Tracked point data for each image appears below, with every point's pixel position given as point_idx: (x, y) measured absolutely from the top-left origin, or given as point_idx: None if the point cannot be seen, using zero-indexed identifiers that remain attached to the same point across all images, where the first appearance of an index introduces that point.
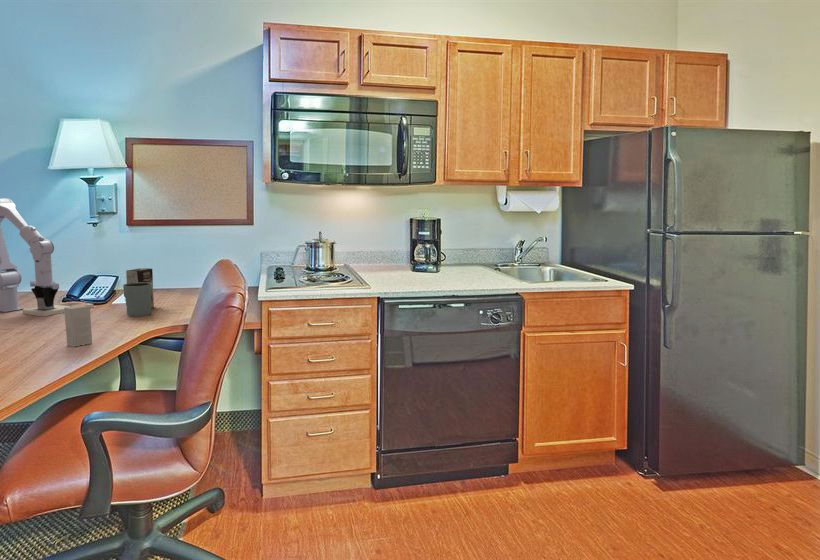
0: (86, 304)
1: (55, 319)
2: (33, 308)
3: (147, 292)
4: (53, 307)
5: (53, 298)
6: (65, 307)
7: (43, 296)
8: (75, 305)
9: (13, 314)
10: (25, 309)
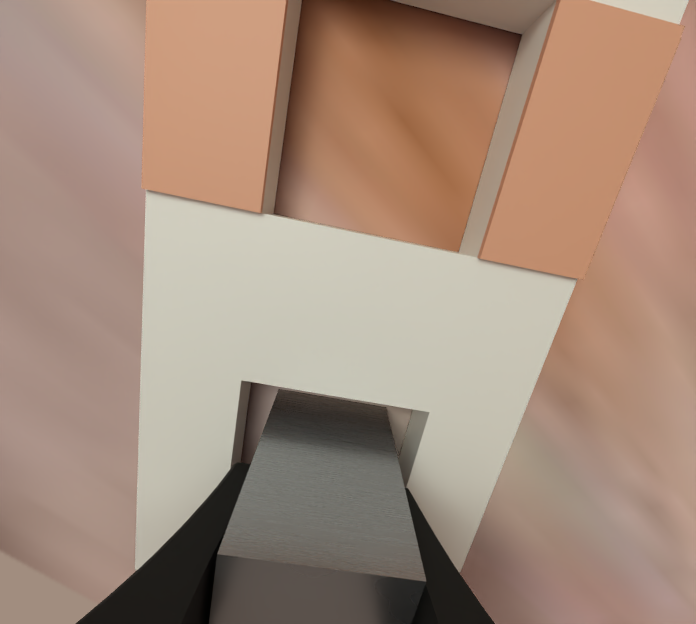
0: (664, 47)
1: (612, 615)
2: (168, 492)
3: None
4: (393, 449)
5: (466, 602)
6: (473, 336)
7: (200, 607)
8: (538, 194)
9: (122, 574)
10: (148, 552)
